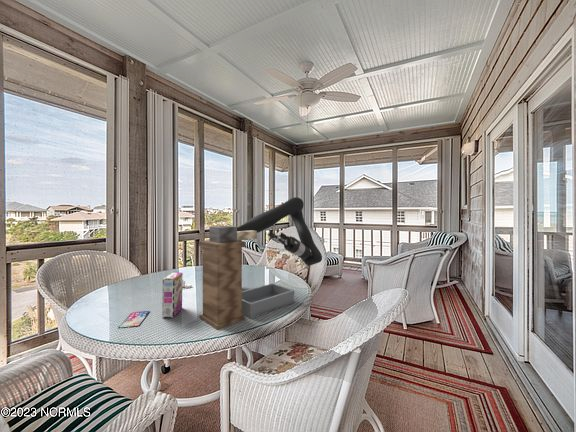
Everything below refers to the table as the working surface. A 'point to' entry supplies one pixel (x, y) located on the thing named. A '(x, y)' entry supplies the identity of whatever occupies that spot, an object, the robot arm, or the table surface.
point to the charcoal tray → (265, 299)
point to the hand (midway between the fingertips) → (274, 233)
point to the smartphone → (134, 319)
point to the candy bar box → (172, 295)
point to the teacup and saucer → (185, 285)
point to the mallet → (229, 234)
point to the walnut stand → (222, 283)
